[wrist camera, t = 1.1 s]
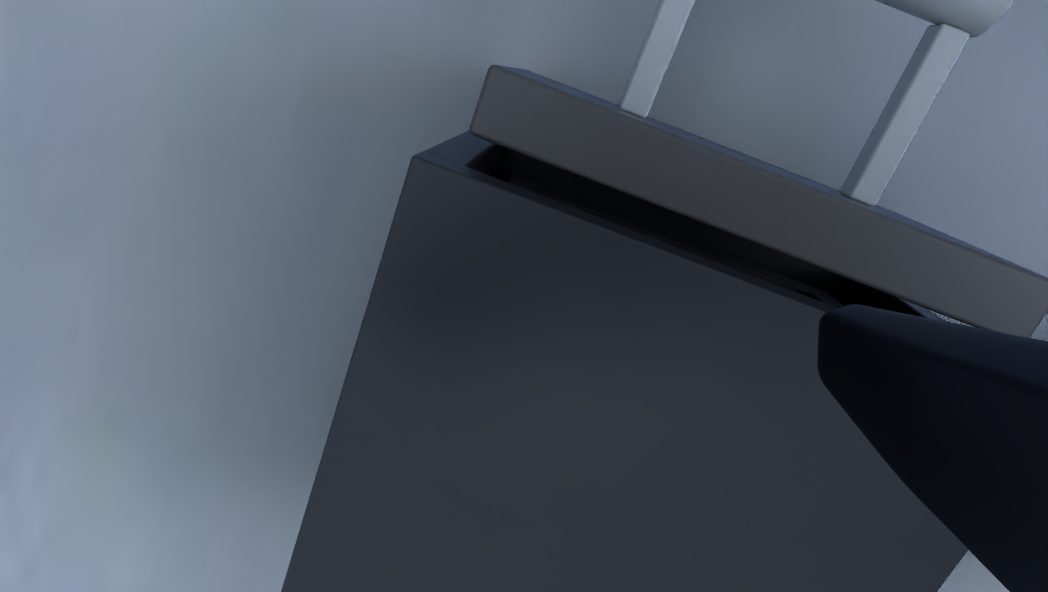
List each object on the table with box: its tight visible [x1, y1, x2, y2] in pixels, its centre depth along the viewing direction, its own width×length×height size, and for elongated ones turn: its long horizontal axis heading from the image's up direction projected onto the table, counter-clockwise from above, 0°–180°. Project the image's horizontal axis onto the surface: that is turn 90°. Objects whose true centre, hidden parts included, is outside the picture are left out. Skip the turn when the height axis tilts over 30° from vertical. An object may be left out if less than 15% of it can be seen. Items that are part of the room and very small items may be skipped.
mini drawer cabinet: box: [281, 131, 968, 592], centre depth 17 cm, size 14×12×8 cm
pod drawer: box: [469, 0, 1048, 338], centre depth 15 cm, size 17×10×6 cm, turn 160°
